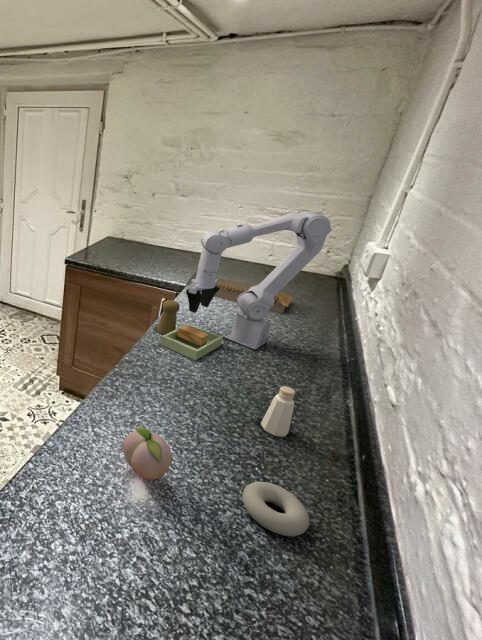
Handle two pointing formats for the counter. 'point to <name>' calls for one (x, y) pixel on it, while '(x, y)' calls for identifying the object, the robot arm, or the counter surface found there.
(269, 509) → the donut
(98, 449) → the counter surface
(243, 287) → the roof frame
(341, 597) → the counter surface
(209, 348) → the tray
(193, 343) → the orange brown rectangular block
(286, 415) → the salt shaker
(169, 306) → the pepper mill
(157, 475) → the decorative fruit
